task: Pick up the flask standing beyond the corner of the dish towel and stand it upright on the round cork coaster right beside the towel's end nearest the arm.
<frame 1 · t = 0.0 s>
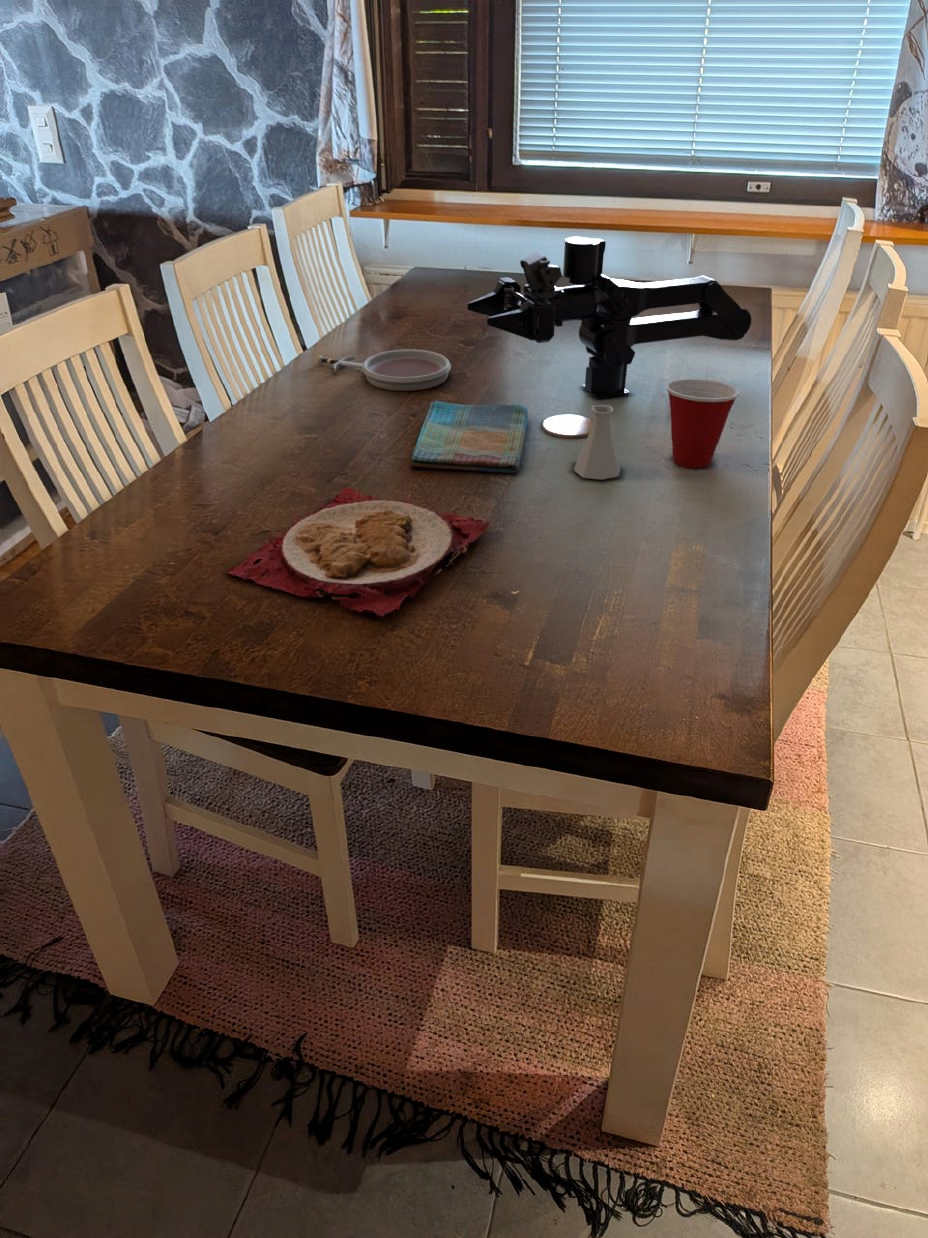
hand: (477, 313, 150), 17 cm above the table, tool horizontal, fingers open, 9 cm apart
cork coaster: (569, 427, 153), on the table
flask: (596, 472, 139), on the table
plastic cup: (691, 461, 142), on the table
frying pan: (381, 373, 175), on the table
dish towel: (472, 442, 148), on the table
plate with food: (363, 554, 118), on the table
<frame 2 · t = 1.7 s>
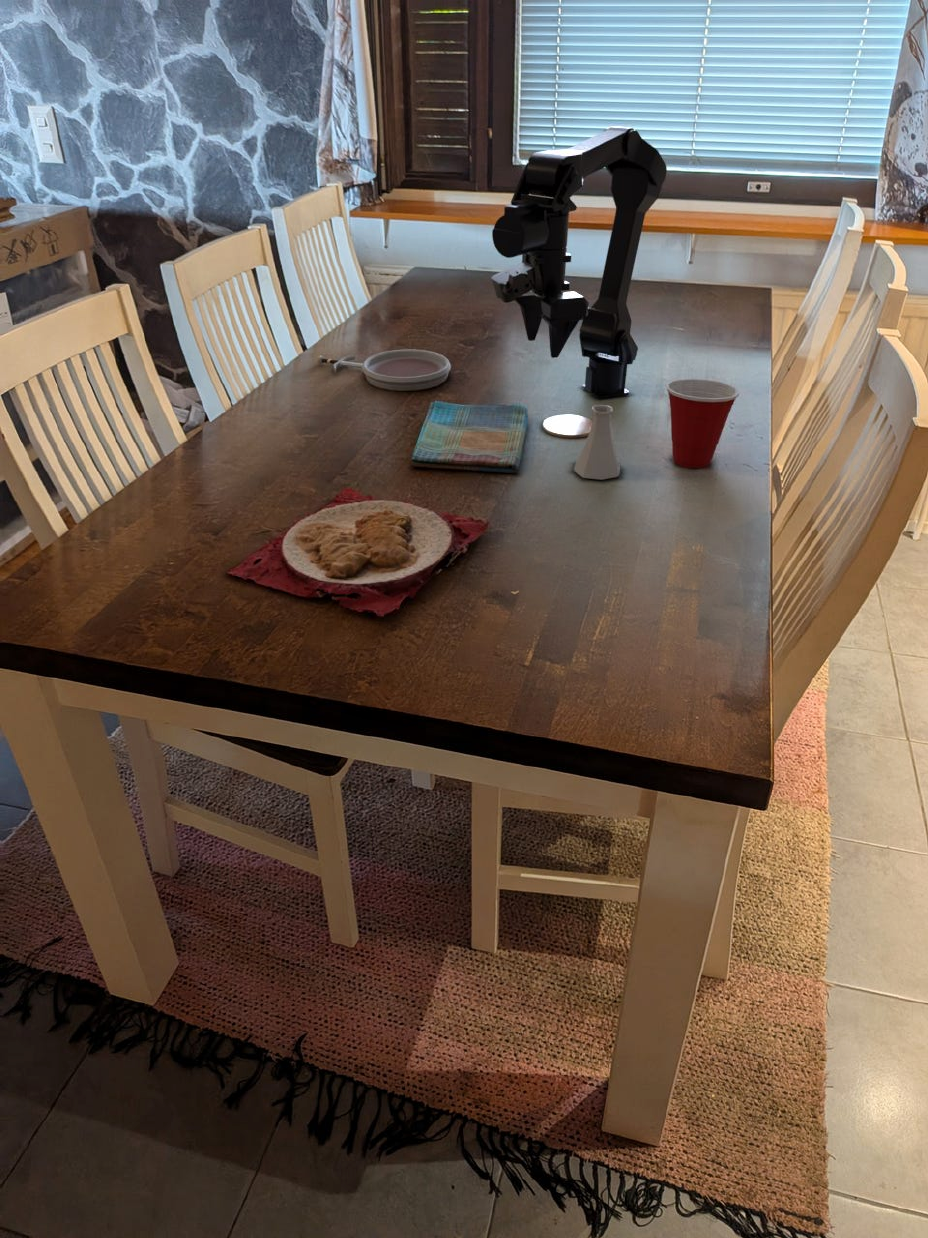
hand: (542, 348, 146), 13 cm above the table, tool pointing down, fingers open, 9 cm apart
nothing on the table moved.
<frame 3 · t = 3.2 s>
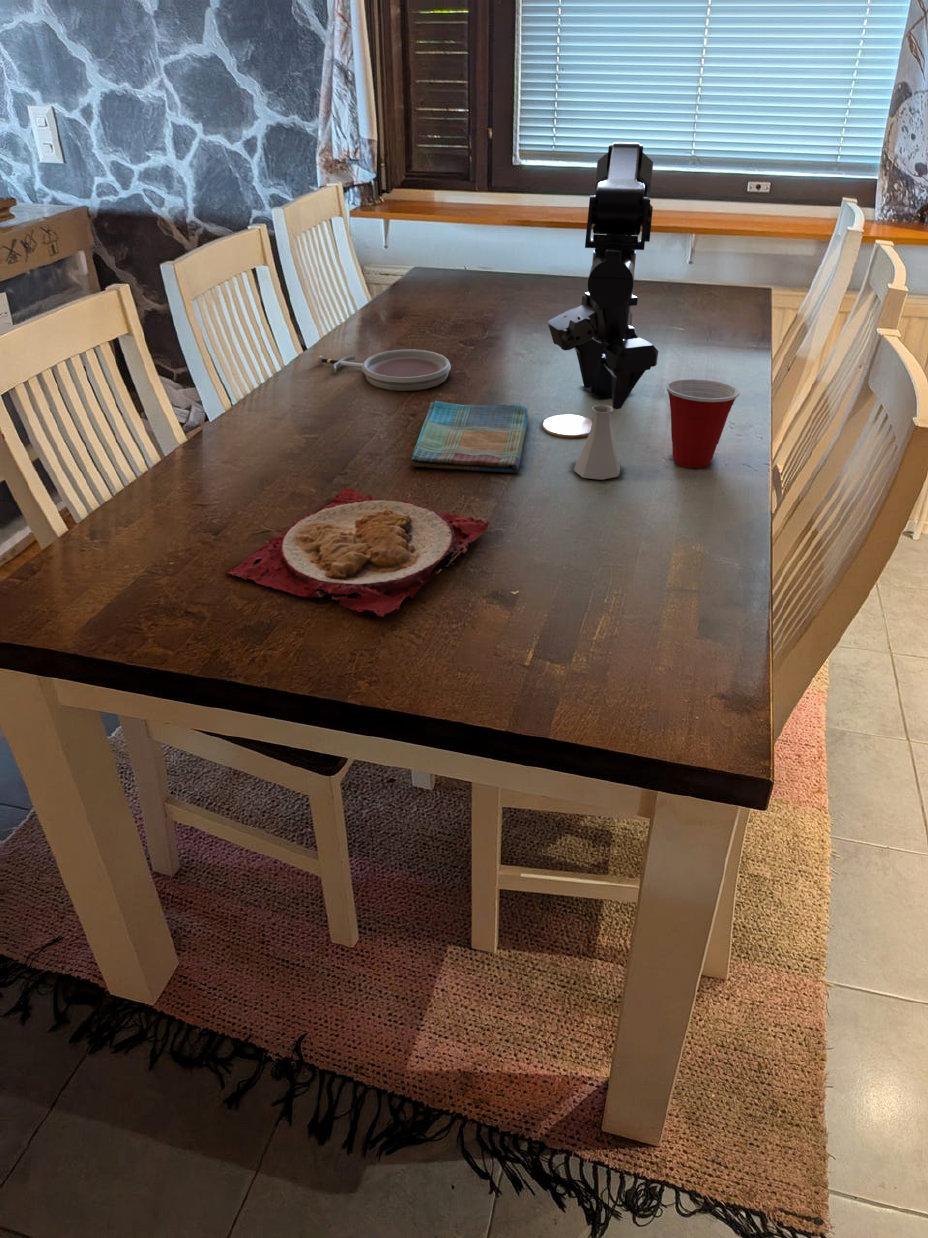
hand: (601, 397, 133), 11 cm above the table, tool pointing down, fingers open, 9 cm apart
nothing on the table moved.
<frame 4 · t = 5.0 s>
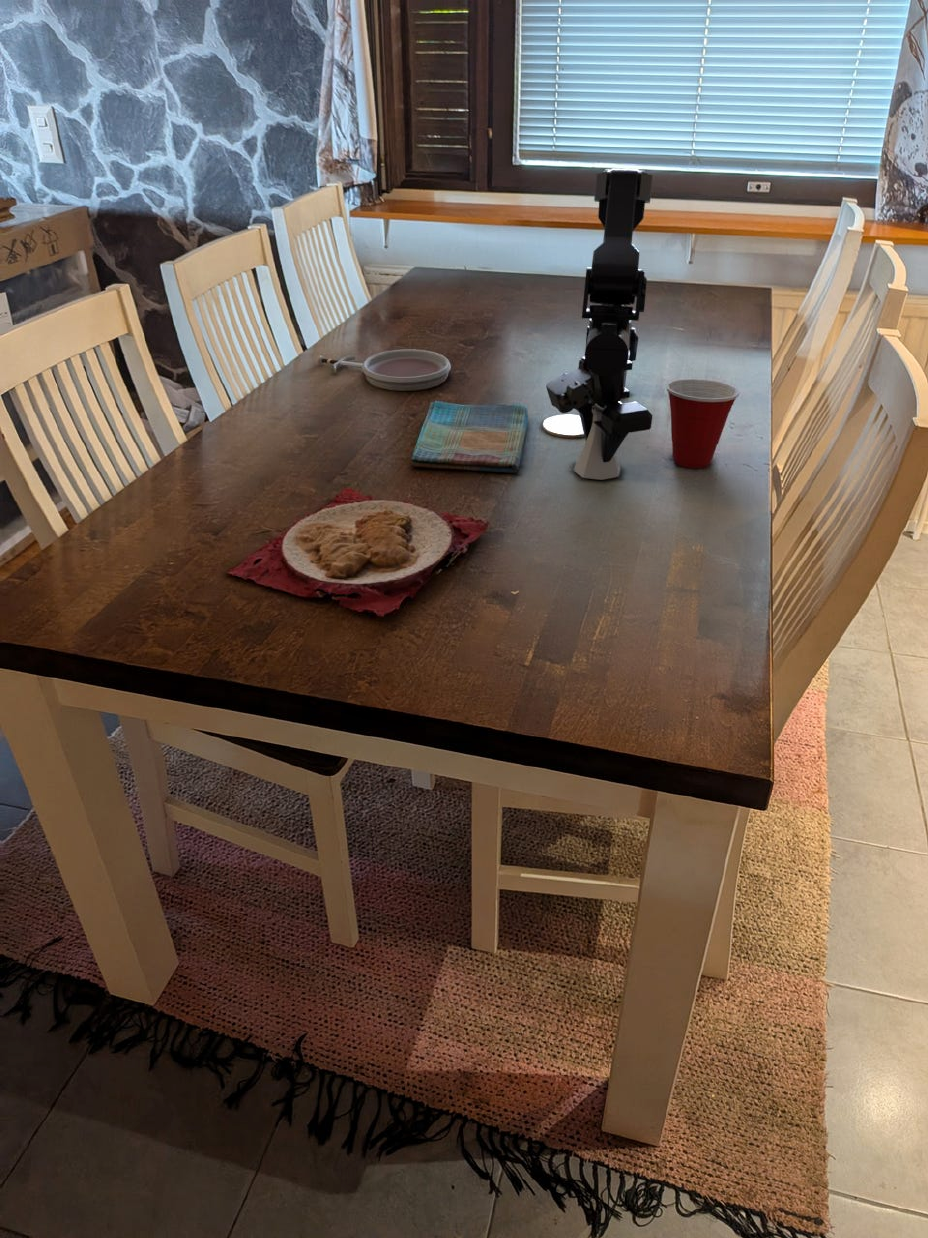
hand: (598, 455, 137), 3 cm above the table, tool pointing down, fingers closed on flask, 5 cm apart
flask: (596, 472, 139), on the table, touching gripper
everything else where it was.
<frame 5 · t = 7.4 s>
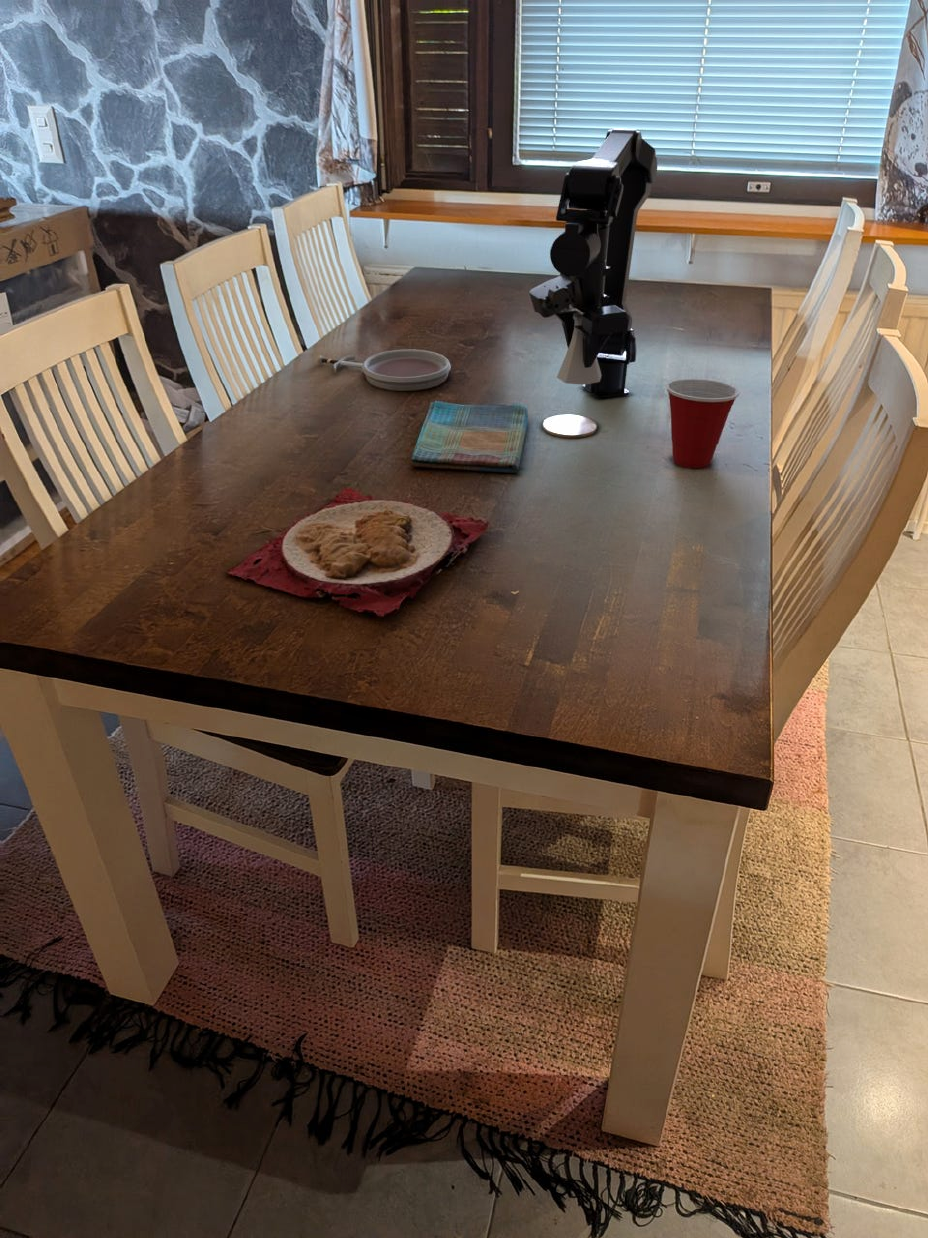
hand: (580, 362, 144), 12 cm above the table, tool pointing down, fingers closed on flask, 5 cm apart
flask: (579, 379, 145), point 9 cm above the table, touching gripper
everything else where it was.
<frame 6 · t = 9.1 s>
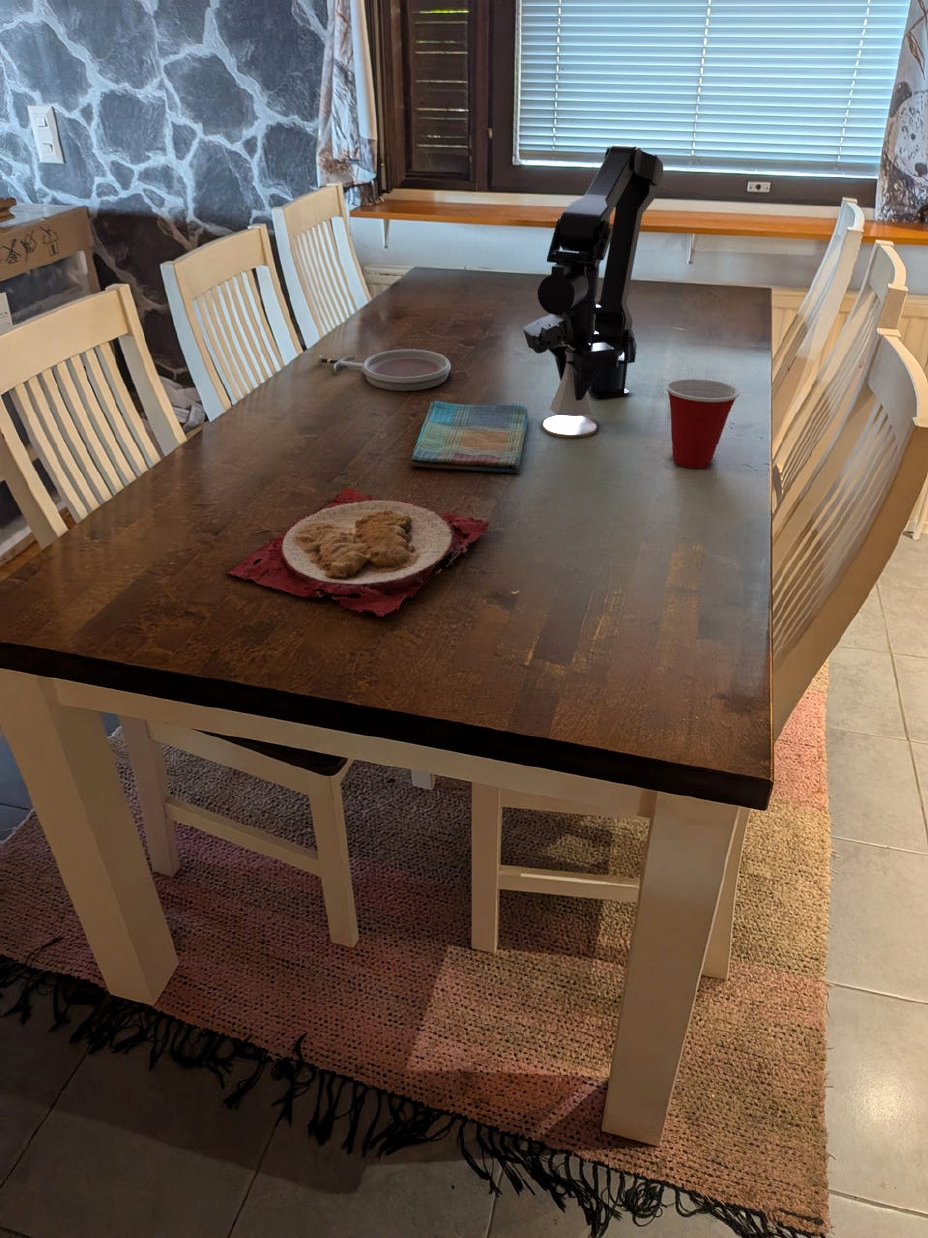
hand: (572, 394, 150), 6 cm above the table, tool pointing down, fingers closed on flask, 5 cm apart
flask: (571, 410, 151), point 3 cm above the table, touching gripper
everything else where it was.
when the fingers open (3 cm above the table, at t = 10.2 s): flask stays where it is, resting on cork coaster.
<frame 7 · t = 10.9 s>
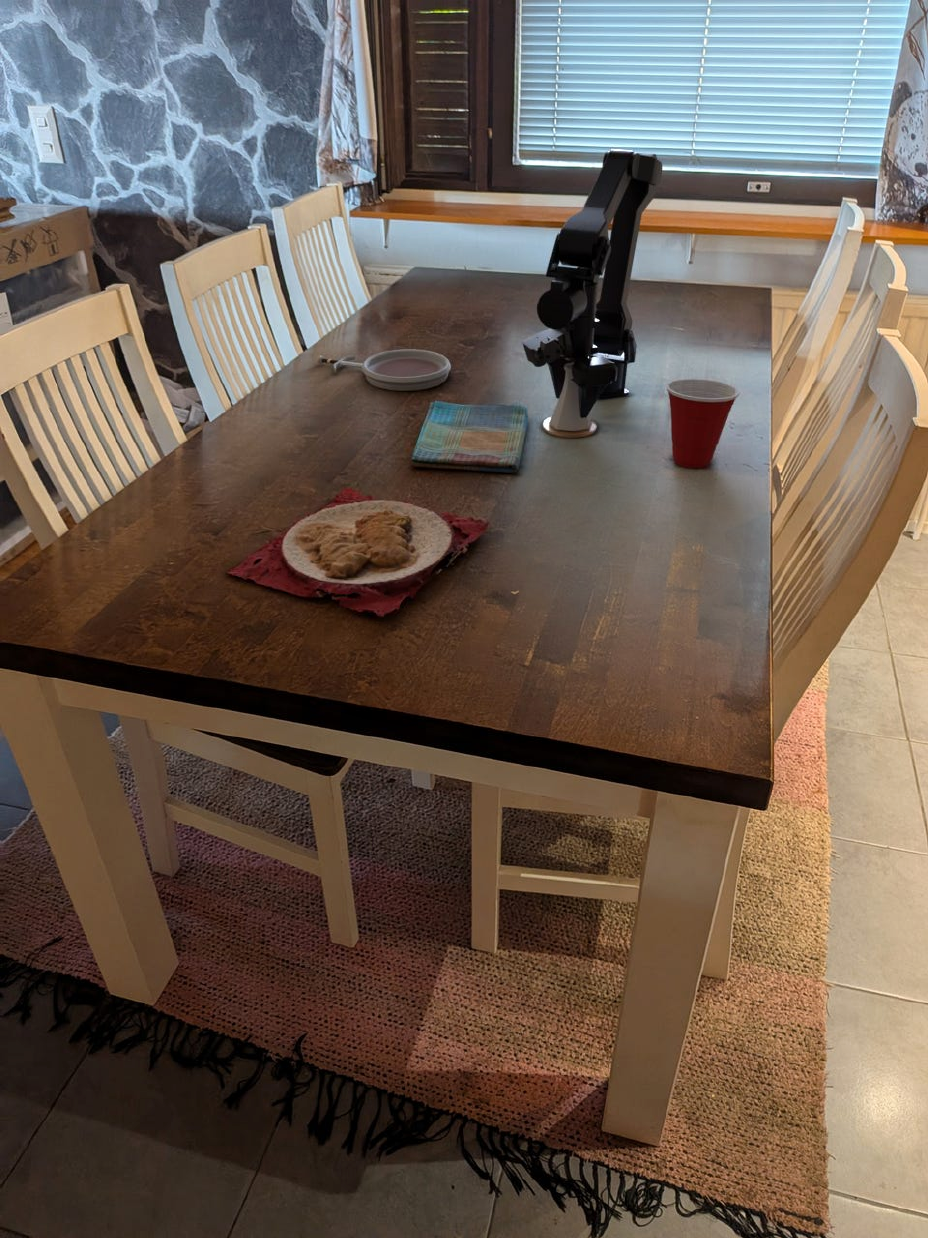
hand: (570, 407, 151), 3 cm above the table, tool pointing down, fingers open, 9 cm apart
flask: (569, 425, 153), resting on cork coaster
everything else where it was.
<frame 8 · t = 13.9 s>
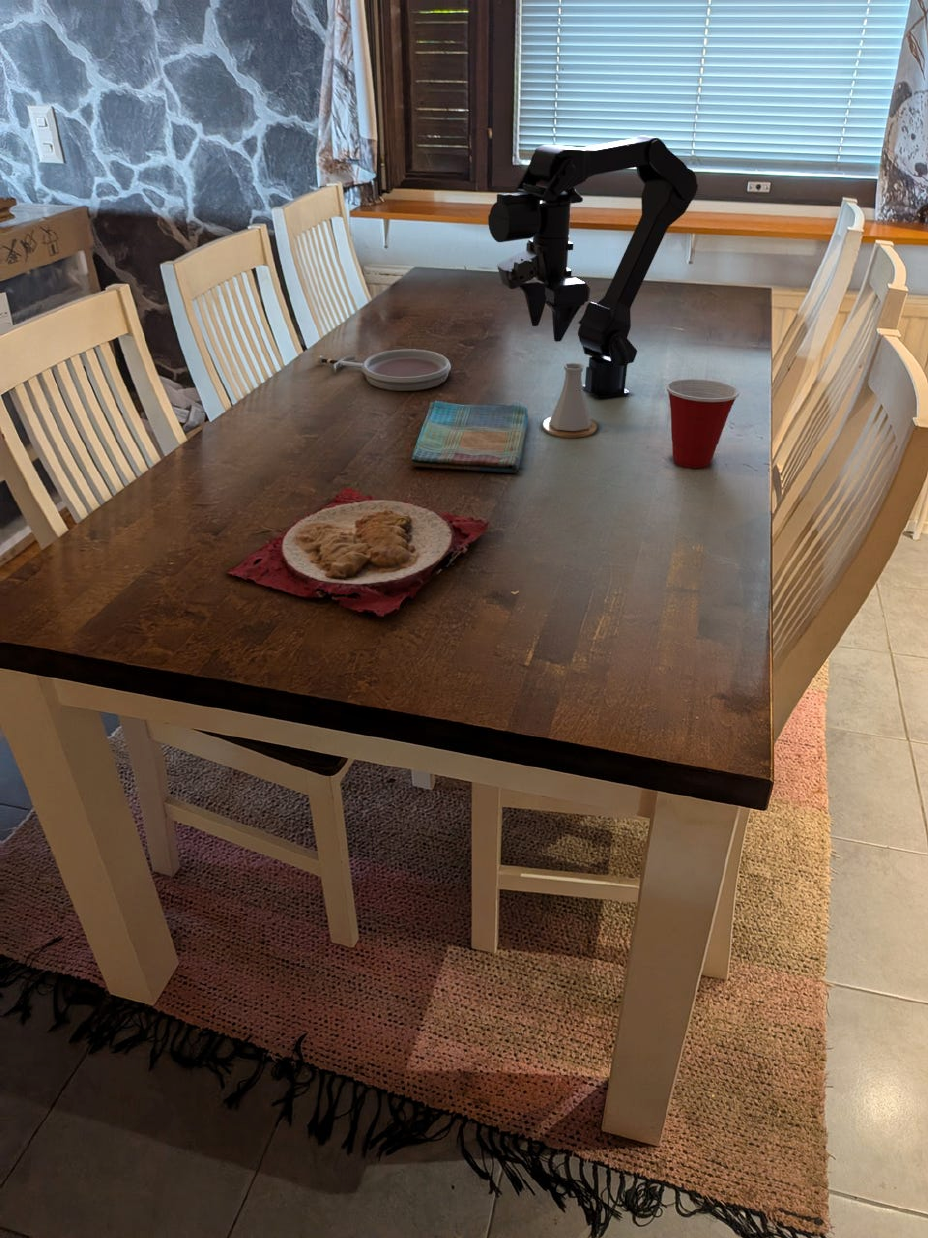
hand: (546, 333, 153), 13 cm above the table, tool pointing down, fingers open, 9 cm apart
nothing on the table moved.
at the end: flask inside the target area on the table beside the dish towel (0.1 cm from its centre), point 0.5 cm above the table; flask 0.1 cm from the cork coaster (horizontally); flask tilted 0° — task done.
